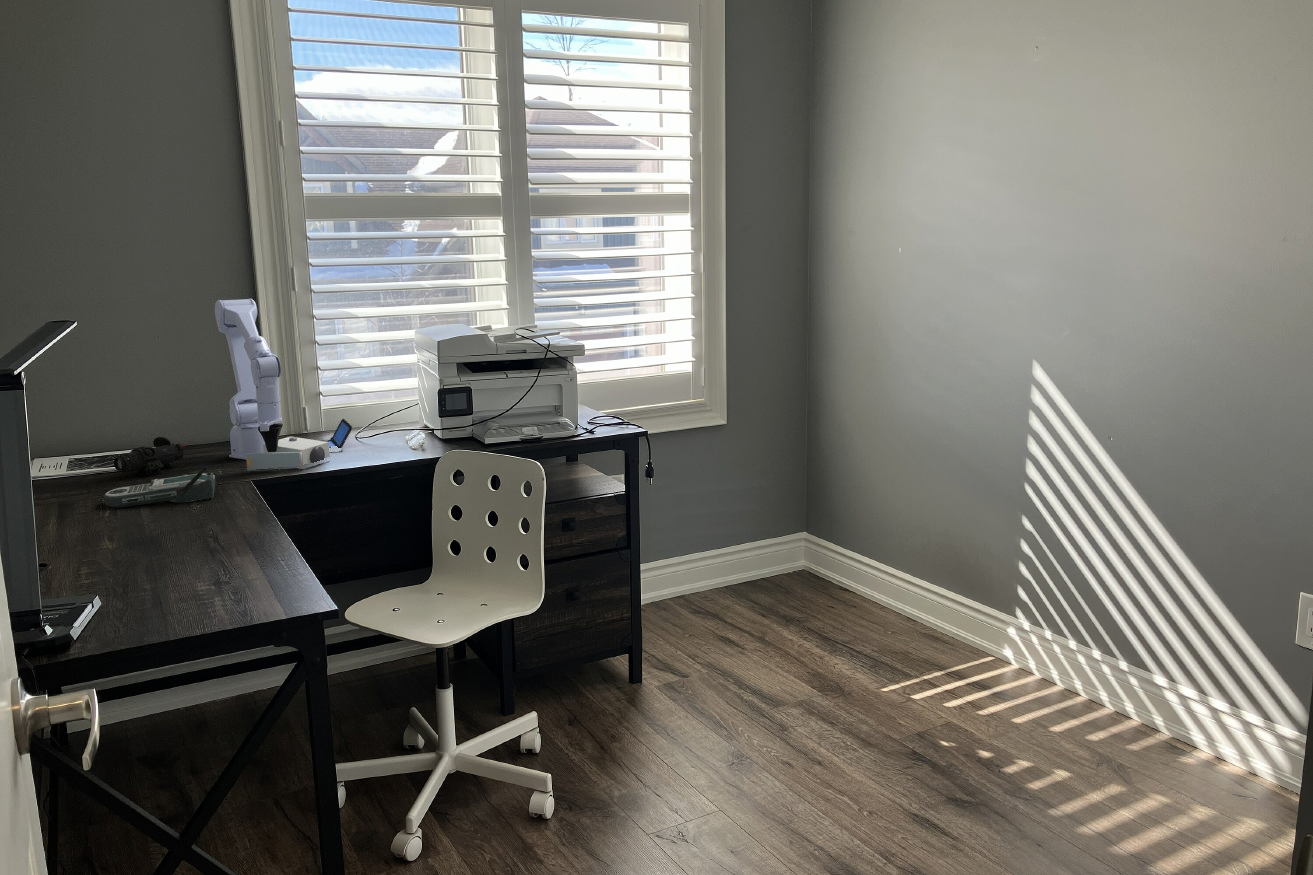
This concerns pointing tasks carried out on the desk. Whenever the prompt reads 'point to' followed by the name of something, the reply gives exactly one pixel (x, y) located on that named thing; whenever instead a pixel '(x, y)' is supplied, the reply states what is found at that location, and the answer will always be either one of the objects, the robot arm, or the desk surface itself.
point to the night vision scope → (150, 457)
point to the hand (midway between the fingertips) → (272, 451)
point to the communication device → (164, 490)
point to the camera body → (303, 448)
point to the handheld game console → (340, 434)
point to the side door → (273, 460)
